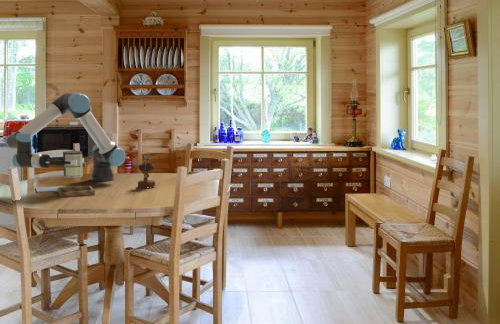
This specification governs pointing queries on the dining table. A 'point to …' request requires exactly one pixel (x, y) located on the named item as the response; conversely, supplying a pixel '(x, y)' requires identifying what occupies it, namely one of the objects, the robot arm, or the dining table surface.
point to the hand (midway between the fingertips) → (80, 161)
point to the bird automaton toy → (146, 174)
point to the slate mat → (47, 189)
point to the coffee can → (73, 170)
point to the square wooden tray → (75, 191)
